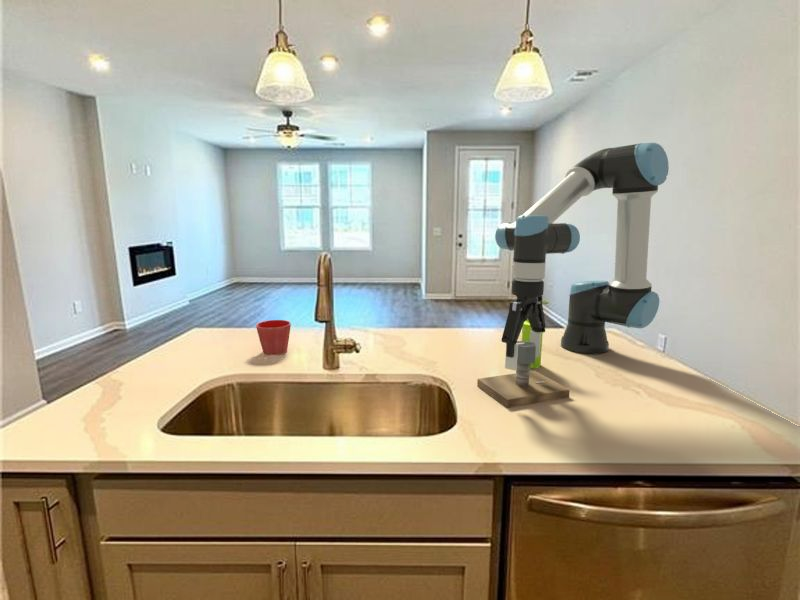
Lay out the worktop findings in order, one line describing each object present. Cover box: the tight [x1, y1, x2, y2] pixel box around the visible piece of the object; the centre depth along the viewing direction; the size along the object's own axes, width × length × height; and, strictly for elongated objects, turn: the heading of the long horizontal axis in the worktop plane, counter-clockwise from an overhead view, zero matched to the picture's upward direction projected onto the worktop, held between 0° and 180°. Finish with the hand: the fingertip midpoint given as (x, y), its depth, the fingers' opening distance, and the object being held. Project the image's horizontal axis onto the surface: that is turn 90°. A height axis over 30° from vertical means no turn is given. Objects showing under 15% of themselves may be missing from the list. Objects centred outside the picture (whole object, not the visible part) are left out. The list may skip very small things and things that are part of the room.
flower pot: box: [256, 319, 292, 356], centre depth 141 cm, size 11×11×10 cm
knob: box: [516, 340, 536, 364], centre depth 107 cm, size 6×5×5 cm
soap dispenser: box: [521, 299, 549, 369], centre depth 127 cm, size 6×7×20 cm
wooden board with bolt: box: [476, 363, 571, 408], centre depth 108 cm, size 18×14×8 cm
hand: (523, 362), depth 107 cm, fingers open, 13 cm apart
